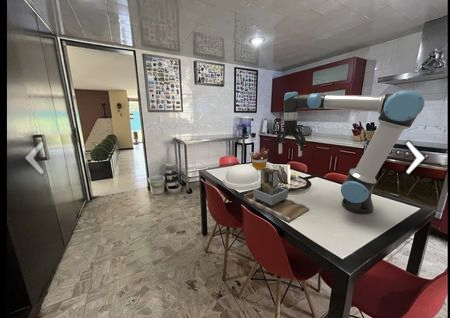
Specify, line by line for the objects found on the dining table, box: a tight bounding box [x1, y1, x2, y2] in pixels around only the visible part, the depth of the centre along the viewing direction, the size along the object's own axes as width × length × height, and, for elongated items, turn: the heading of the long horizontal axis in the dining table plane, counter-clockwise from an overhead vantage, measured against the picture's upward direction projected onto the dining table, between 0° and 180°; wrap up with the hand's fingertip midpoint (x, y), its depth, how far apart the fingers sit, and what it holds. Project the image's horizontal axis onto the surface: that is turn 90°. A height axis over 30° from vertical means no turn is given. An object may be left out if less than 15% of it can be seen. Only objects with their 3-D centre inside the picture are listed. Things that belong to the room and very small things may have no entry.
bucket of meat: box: [249, 146, 269, 171], centre depth 190 cm, size 20×16×20 cm
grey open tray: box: [252, 186, 289, 208], centre depth 121 cm, size 15×15×8 cm
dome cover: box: [222, 164, 261, 191], centre depth 156 cm, size 32×30×14 cm
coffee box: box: [260, 167, 279, 196], centre depth 119 cm, size 9×6×16 cm
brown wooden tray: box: [243, 190, 310, 224], centre depth 119 cm, size 34×20×4 cm, turn 37°
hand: (289, 154), depth 119 cm, fingers open, 13 cm apart
